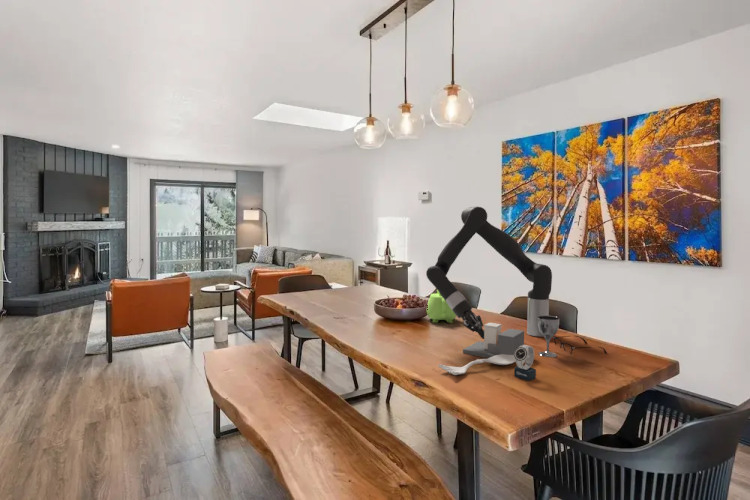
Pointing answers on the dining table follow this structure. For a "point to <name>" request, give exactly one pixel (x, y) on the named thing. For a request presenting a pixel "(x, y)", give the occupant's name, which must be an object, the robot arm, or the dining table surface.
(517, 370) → the watch
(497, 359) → the spoon
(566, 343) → the eyeglasses
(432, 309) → the teapot
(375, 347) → the dining table surface
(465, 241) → the robot arm
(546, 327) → the wine glass
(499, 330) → the white rectangular block
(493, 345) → the grey block model
